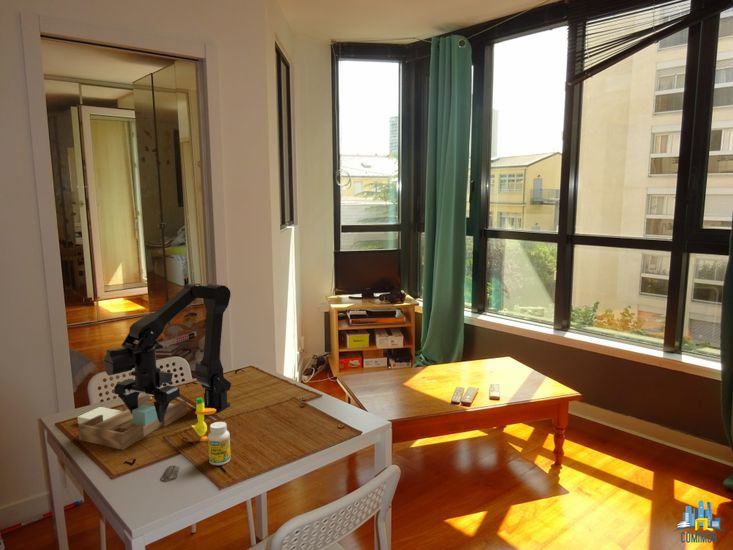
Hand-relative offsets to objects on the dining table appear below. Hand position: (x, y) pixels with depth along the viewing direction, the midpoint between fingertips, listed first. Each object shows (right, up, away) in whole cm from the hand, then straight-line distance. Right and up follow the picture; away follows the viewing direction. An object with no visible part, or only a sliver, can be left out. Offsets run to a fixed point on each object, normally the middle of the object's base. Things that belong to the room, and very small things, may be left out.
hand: (148, 419), depth 148 cm
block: (-1, -1, +1) cm, 2 cm away
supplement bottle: (+25, -6, -16) cm, 30 cm away
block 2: (+15, -8, -23) cm, 28 cm away
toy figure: (+17, -5, -5) cm, 19 cm away
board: (-17, -2, +7) cm, 18 cm away
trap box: (-5, -3, +4) cm, 7 cm away
